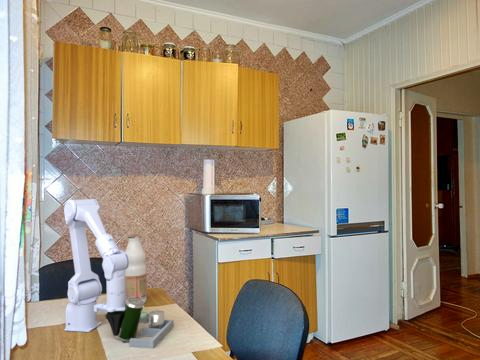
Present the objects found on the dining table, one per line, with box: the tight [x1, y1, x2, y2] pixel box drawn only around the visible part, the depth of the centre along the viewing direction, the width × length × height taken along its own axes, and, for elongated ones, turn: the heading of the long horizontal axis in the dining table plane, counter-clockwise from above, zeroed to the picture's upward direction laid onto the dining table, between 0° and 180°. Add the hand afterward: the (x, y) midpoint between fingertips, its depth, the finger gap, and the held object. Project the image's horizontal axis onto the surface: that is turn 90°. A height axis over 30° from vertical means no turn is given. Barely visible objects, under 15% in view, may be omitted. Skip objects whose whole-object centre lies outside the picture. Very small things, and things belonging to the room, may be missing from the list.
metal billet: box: [148, 309, 165, 329], centre depth 122 cm, size 5×5×6 cm
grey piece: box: [129, 319, 174, 349], centre depth 118 cm, size 8×17×2 cm, turn 170°
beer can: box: [117, 298, 144, 343], centre depth 115 cm, size 5×5×12 cm
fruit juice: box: [124, 233, 148, 305], centre depth 152 cm, size 9×9×28 cm
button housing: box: [139, 312, 150, 324], centre depth 132 cm, size 5×5×2 cm
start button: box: [140, 311, 148, 318], centre depth 132 cm, size 3×3×2 cm
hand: (116, 334), depth 116 cm, fingers closed
